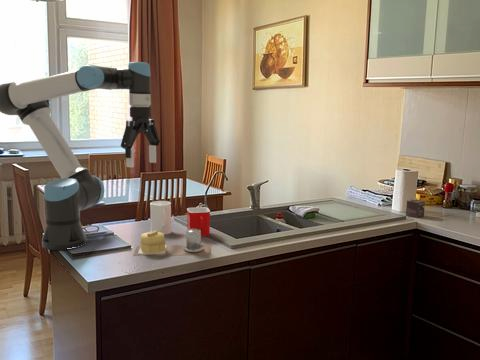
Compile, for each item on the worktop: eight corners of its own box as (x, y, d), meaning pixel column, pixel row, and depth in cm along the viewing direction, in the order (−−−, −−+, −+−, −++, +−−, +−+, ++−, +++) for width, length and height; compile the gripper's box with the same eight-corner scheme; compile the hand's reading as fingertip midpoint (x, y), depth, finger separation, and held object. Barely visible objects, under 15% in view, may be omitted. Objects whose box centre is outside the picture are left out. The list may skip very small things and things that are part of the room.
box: (417, 218, 217) (418, 202, 216) (405, 215, 222) (406, 200, 221) (424, 216, 221) (425, 201, 220) (412, 213, 226) (413, 198, 224)
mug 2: (186, 234, 188) (186, 208, 186) (206, 232, 190) (206, 207, 188) (191, 243, 176) (191, 215, 174) (213, 241, 178) (213, 214, 177)
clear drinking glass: (183, 253, 161) (182, 233, 160) (183, 246, 168) (183, 228, 167) (203, 252, 162) (203, 233, 161) (203, 246, 169) (203, 227, 168)
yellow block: (155, 254, 159) (155, 236, 158) (136, 250, 162) (135, 233, 161) (169, 247, 166) (168, 230, 165) (150, 244, 169) (149, 228, 168)
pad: (137, 254, 159) (137, 253, 159) (141, 246, 168) (141, 245, 168) (165, 254, 160) (165, 253, 160) (166, 246, 169) (166, 244, 169)
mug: (174, 236, 184) (174, 206, 182) (152, 238, 182) (151, 207, 180) (170, 228, 195) (169, 200, 193) (149, 230, 193) (148, 201, 191)
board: (133, 259, 158) (132, 255, 158) (137, 248, 169) (137, 245, 169) (211, 257, 160) (211, 254, 160) (210, 247, 171) (210, 244, 171)
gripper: (126, 106, 158) (128, 169, 162) (168, 106, 180) (169, 161, 184) (108, 106, 161) (111, 168, 165) (152, 105, 183) (153, 160, 187)
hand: (141, 164), depth 174 cm, fingers open, 13 cm apart
